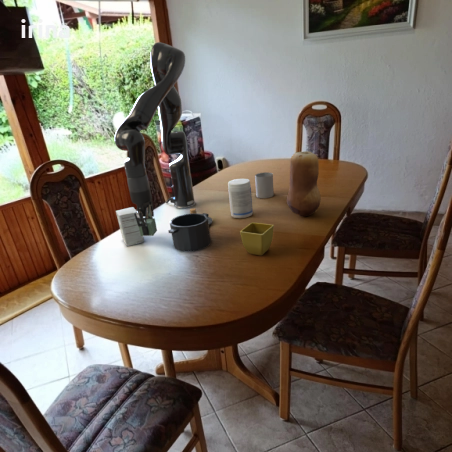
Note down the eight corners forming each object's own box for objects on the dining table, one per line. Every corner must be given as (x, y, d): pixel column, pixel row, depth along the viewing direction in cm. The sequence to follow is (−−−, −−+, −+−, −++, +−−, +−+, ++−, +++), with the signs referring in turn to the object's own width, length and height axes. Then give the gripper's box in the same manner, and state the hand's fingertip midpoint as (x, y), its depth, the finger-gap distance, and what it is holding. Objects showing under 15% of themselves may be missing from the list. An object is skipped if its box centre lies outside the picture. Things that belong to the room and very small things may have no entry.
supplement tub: (257, 214, 172) (255, 180, 165) (239, 220, 168) (236, 186, 161) (244, 209, 179) (241, 176, 172) (226, 215, 175) (223, 181, 168)
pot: (161, 250, 150) (156, 226, 145) (195, 231, 162) (192, 209, 157) (188, 257, 142) (184, 232, 137) (222, 237, 154) (219, 214, 149)
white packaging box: (122, 240, 162) (115, 210, 156) (140, 236, 164) (133, 206, 158) (126, 246, 156) (118, 215, 150) (144, 242, 158) (137, 211, 152)
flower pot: (263, 259, 135) (262, 234, 130) (241, 255, 139) (239, 231, 134) (275, 249, 141) (274, 224, 136) (253, 245, 145) (251, 222, 141)
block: (140, 236, 151) (137, 223, 149) (144, 230, 155) (142, 218, 153) (153, 235, 150) (150, 223, 148) (157, 230, 155) (154, 218, 152)
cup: (254, 197, 193) (252, 177, 188) (259, 192, 199) (258, 172, 194) (270, 198, 190) (270, 177, 184) (275, 193, 196) (275, 172, 191)
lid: (170, 227, 169) (167, 212, 166) (194, 216, 179) (191, 201, 175) (196, 233, 161) (194, 217, 157) (219, 221, 170) (218, 205, 167)
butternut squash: (326, 212, 167) (328, 149, 154) (308, 222, 159) (309, 157, 146) (298, 207, 175) (298, 147, 162) (280, 216, 167) (278, 155, 154)
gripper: (142, 194, 137) (152, 239, 146) (155, 182, 149) (163, 225, 158) (122, 195, 139) (133, 240, 148) (136, 183, 150) (145, 225, 159)
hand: (148, 232), depth 153 cm, fingers closed on block, 5 cm apart
